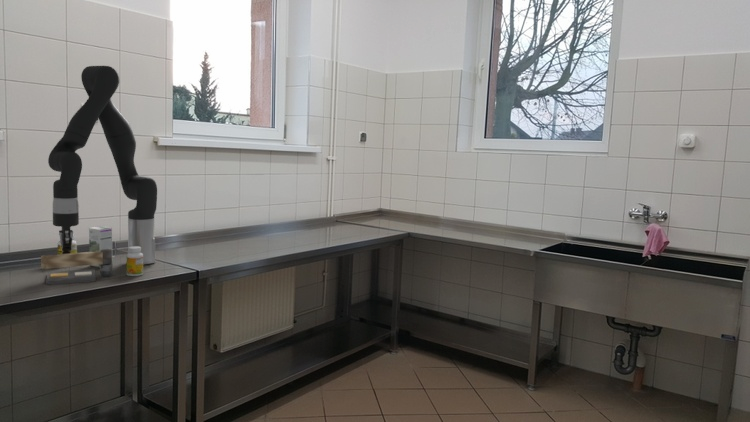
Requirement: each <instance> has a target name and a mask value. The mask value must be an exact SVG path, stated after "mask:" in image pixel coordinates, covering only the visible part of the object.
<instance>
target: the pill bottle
mask: <svg viewBox="0 0 750 422" xmlns="http://www.w3.org/2000/svg"><path fill="white" fill-rule="evenodd" d="M74 239H75V234H73V237H72V245H71V251H70V253H78V244H77V241H76V240H74ZM61 248H62V247H61V244H60V240H59V241H58V242H57V254H62V250H61Z"/></svg>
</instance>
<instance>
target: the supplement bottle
mask: <svg viewBox="0 0 750 422" xmlns="http://www.w3.org/2000/svg"><path fill="white" fill-rule="evenodd" d="M140 251H141V247H139V246H133V247H129V253H127V254H126V275H127V276H128V277H137V276H138V277H139V276H143V275H144V264H143V254H142V253H140Z"/></svg>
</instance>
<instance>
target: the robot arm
mask: <svg viewBox="0 0 750 422" xmlns="http://www.w3.org/2000/svg"><path fill="white" fill-rule="evenodd" d="M80 78H81V84H82V86H83V88H84V90H85V92H86V94H87V96H88V98H87V100H86V101H85V102H84V103H83V104H82V106H80V107H79V109H78V110H77V111H76V112H75V113H74V114H73V116H72V117H71V119H70V120H69V122H68V125H67V127H66V129H65V131H64V133H63V136H62V137H61V138H60V139H59V140H58V141H57V143H56V144H55V145H54V147H53V148H52V149H51V151H50V153H49V155H48V159H47V161H48V166H49V167H50V169H51V170H52V171H54V172H59V173H60V176H59V179H56V180H55V181H54V182H53V185H52V189H53V190H52V191H53V192H52V193H53V194H52V195H53V197H52V198H53V199H52V225H53V226H54V227H61V229H60V230H58V235H59V241H60V244H61V247H62V248H61V250H62V254H70V251H71V245H72V237H73V235H74V231H73V229H71V227H76V226H78V225H79V223H80V218H79V217H80V216H79V214H80V213H79V212H80V211H79V208H80V206H79V200H78V199H79V198H78V183H80V179H81V178H80V177H81V174H82V170H83V161H82V157H81V156H80V155H79V154H78V153H77V152H76V151H77V150H79V149H83V148H84V147H85V146H86V144H87V142H88V140H89V139H90V136H91V133H92V131H93V129H94V126H95V124H96V123H97V121H98V120H99V124H100V126H101V128H102V131H103V134H104V137H105V140H106V143H107V145H108V147H109V149H110V151H111V155H112V158H113V159H114V164H115V166H116V168H117V172H118V173H117V174H118V176H119V180H120V184H121V188H122V191H123V193H124V195H125V196H126V197H127V199H129V200H133V201H136V204H135V205H136V206H135V207H134V208H133V209H130V210H128V213H127V216H128V217H127V223H128V224H127V229H128V230H127V236H128V237H127V241H128V249H127V250H128V251H127V252H128V253H129V247H133V246H139V247H141V251H140V253H142V254H143V265H148V264H155V263H156V239H155V238H156V237H155V213H156V210H157V202H158V185H157V182H156V180H154V179H153V178H152V177H149V176H140V175H139V173H138V171H137V168H136V166H135V154H136V148H137V141H136V138H135V135H134V133H133V130H132V127H131V124H130V123H129V121H128V120H127V118H125V116H124V115H123V114H122V113H121V112H120V111H119V109H118V108H117V107H116V105H115V104H114V102H113V100H112V98H113V95H114V94H115V93H116V91H117V89H118V88H119V85H120V75H119V72H118V71H117V69H115V68H114V67H112V66H110V65H90V66H86V67H85V68H84V69H83V70H82V72H81V77H80ZM128 253H127V254H128Z"/></svg>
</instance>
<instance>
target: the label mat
mask: <svg viewBox="0 0 750 422" xmlns="http://www.w3.org/2000/svg"><path fill="white" fill-rule="evenodd" d="M95 271H96V270H95V268H93V269H77V270H74V269H73V270H57V271H47V275H46V280H45V285H56V284H57V285H58V284H71V283H85V282H87V283H88V282H96V272H95Z"/></svg>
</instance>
